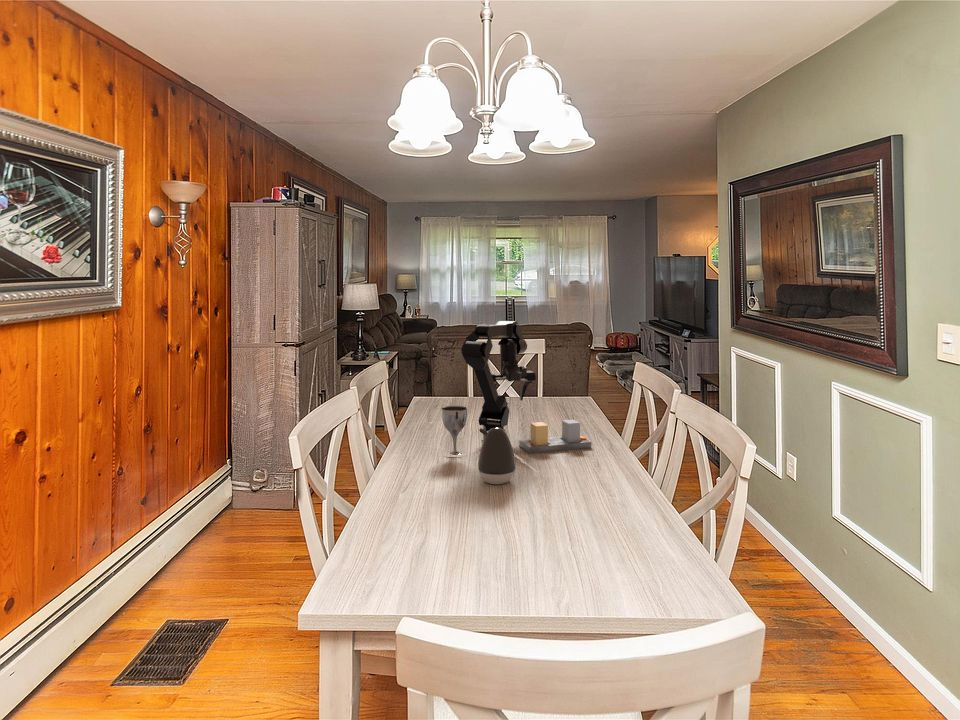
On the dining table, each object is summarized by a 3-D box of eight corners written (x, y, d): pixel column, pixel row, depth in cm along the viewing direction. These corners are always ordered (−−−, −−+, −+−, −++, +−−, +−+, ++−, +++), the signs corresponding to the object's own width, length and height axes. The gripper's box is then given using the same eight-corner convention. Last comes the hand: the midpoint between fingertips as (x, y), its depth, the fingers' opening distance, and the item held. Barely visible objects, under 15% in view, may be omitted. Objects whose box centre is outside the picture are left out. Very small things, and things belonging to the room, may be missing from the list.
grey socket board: (529, 456, 207) (529, 445, 206) (519, 449, 216) (519, 438, 215) (591, 451, 213) (591, 440, 212) (578, 443, 222) (578, 433, 221)
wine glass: (455, 450, 216) (455, 404, 214) (472, 454, 210) (472, 407, 208) (437, 455, 210) (436, 408, 208) (454, 459, 204) (453, 411, 202)
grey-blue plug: (568, 448, 213) (568, 423, 212) (562, 444, 217) (562, 420, 216) (579, 447, 214) (580, 422, 213) (573, 443, 219) (573, 419, 218)
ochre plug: (536, 451, 210) (536, 426, 209) (530, 447, 214) (530, 422, 213) (547, 450, 211) (547, 425, 210) (542, 446, 216) (542, 421, 214)
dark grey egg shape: (489, 474, 190) (488, 421, 188) (521, 479, 184) (521, 425, 182) (470, 483, 181) (470, 429, 179) (504, 489, 176) (504, 433, 174)
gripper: (488, 361, 221) (489, 407, 223) (541, 358, 226) (541, 403, 228) (480, 357, 232) (480, 401, 234) (531, 354, 237) (531, 397, 239)
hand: (508, 401), depth 233 cm, fingers open, 9 cm apart
